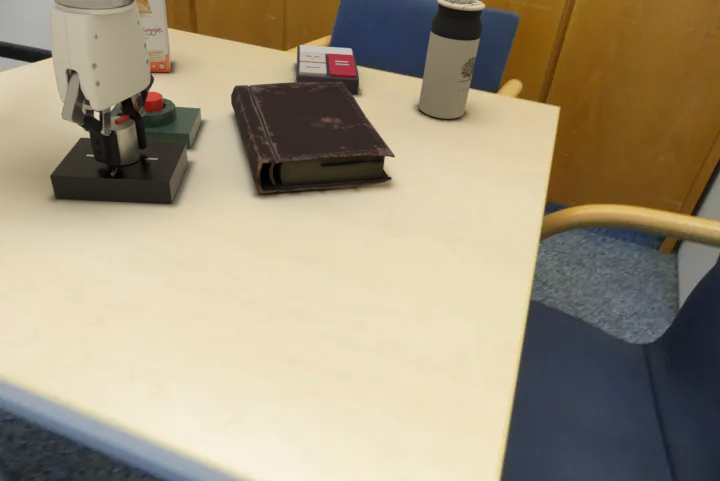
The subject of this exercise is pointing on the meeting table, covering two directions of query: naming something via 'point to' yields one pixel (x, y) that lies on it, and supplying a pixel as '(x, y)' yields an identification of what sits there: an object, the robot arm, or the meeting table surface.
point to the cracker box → (155, 33)
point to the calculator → (327, 66)
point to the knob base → (121, 174)
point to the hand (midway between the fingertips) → (121, 152)
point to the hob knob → (126, 138)
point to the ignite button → (154, 102)
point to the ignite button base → (170, 123)
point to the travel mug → (451, 58)
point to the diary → (307, 137)
